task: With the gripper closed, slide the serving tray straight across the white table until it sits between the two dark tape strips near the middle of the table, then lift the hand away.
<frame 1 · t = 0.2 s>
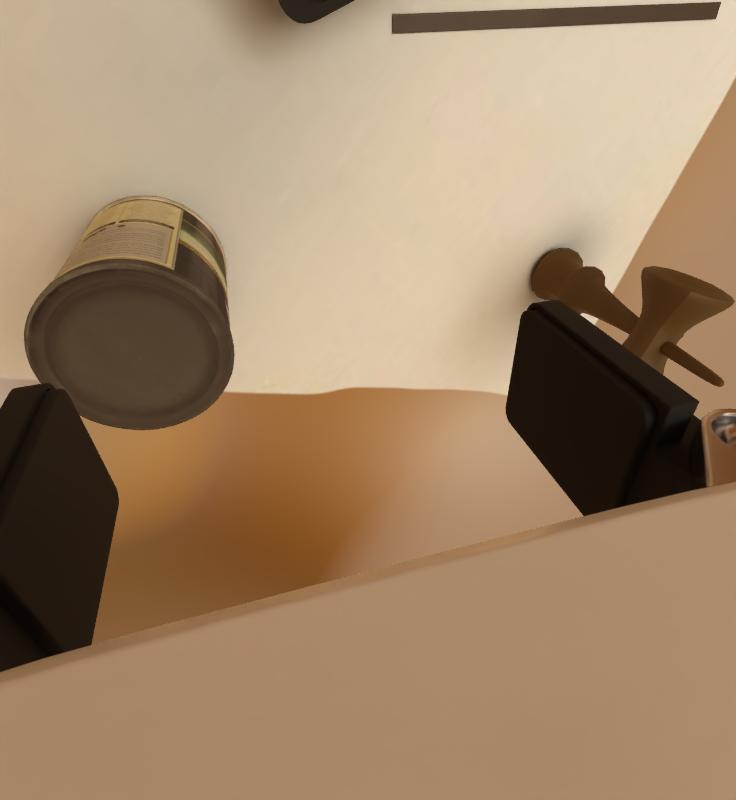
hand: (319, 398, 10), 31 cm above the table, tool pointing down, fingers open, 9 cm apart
kendama: (551, 271, 47), on the table
coffee can: (157, 263, 37), on the table
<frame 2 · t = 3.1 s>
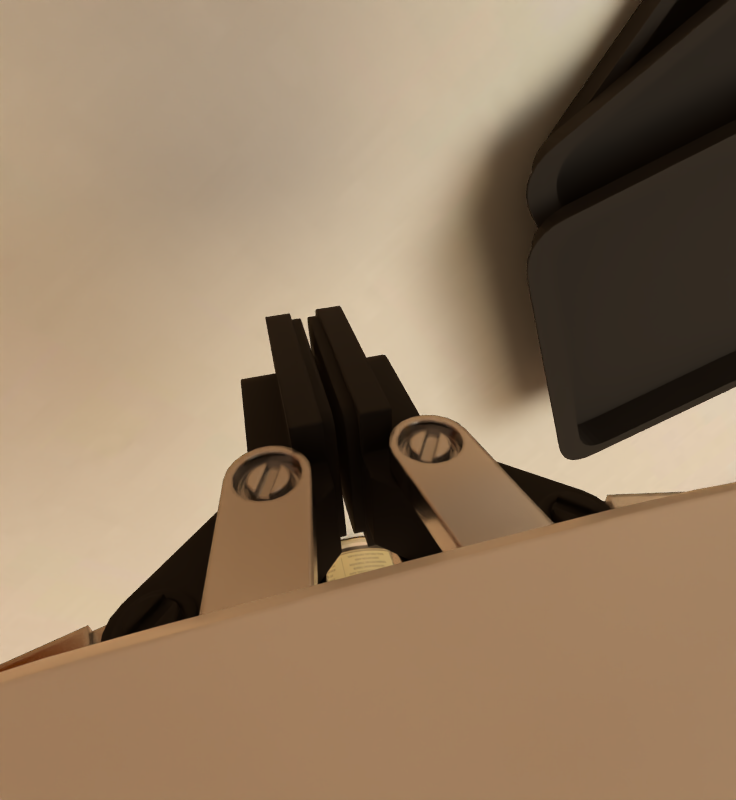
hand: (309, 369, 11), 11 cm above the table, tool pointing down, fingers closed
tray: (720, 159, 23), on the table, touching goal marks
coffee can: (347, 577, 36), on the table
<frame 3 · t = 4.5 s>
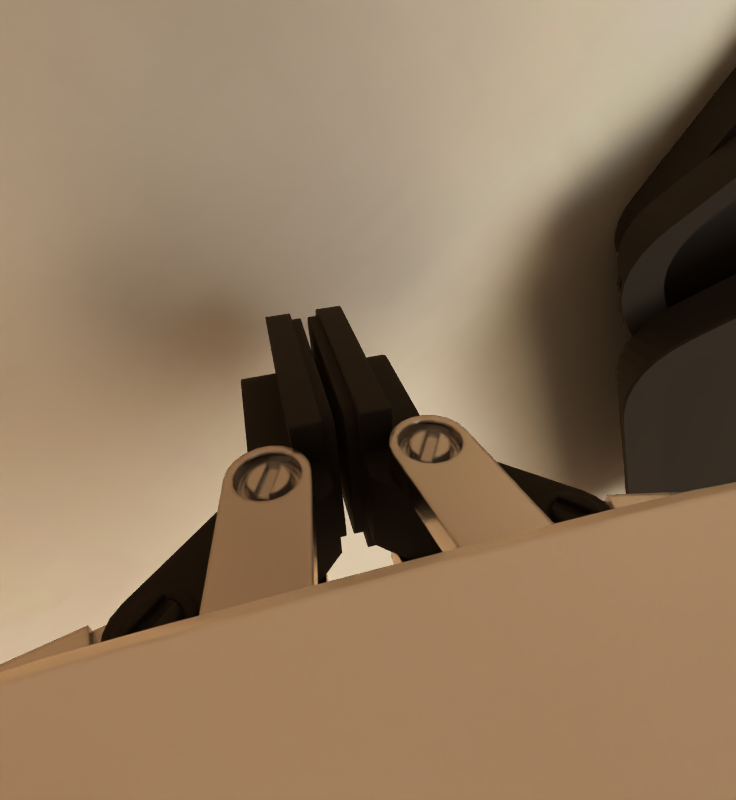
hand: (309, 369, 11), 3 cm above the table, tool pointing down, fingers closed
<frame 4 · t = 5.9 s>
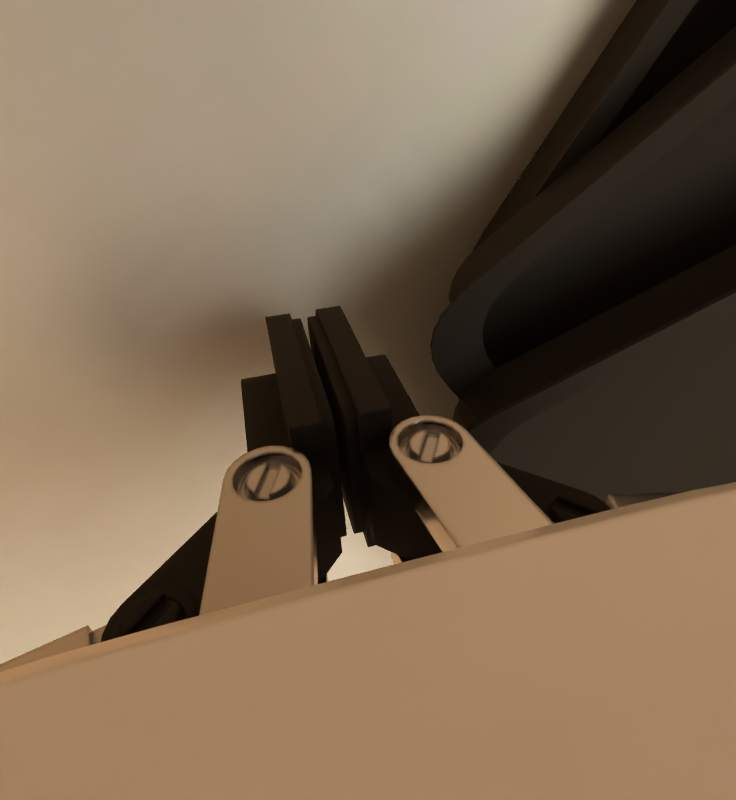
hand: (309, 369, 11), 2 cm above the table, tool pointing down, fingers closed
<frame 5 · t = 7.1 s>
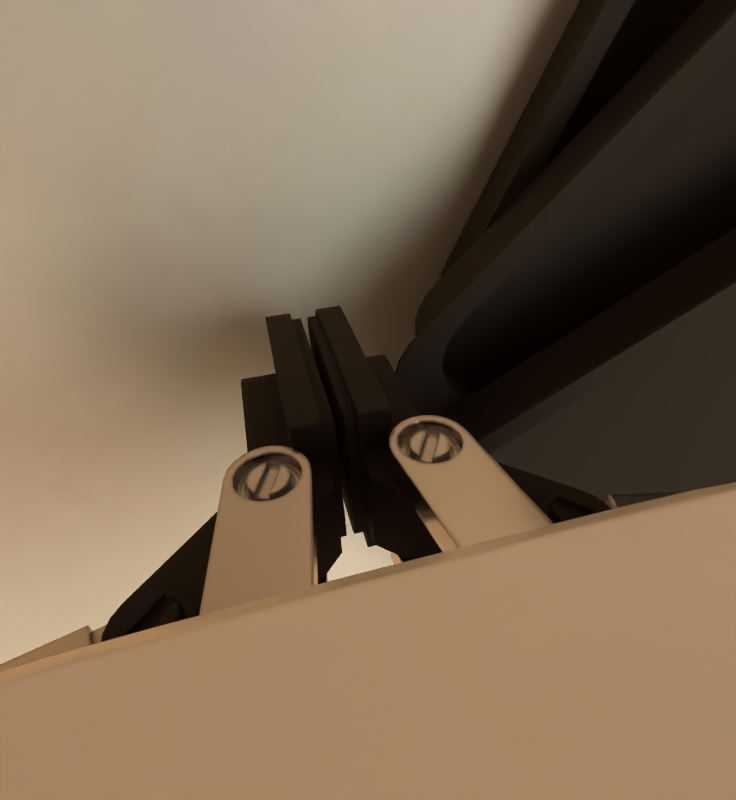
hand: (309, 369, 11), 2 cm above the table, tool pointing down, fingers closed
tray: (733, 231, 15), on the table, touching gripper
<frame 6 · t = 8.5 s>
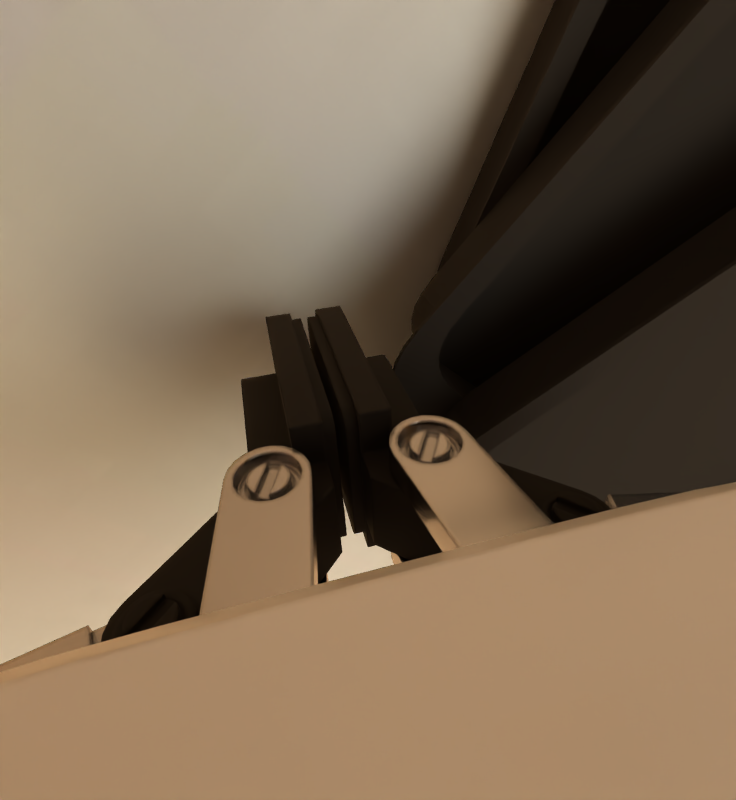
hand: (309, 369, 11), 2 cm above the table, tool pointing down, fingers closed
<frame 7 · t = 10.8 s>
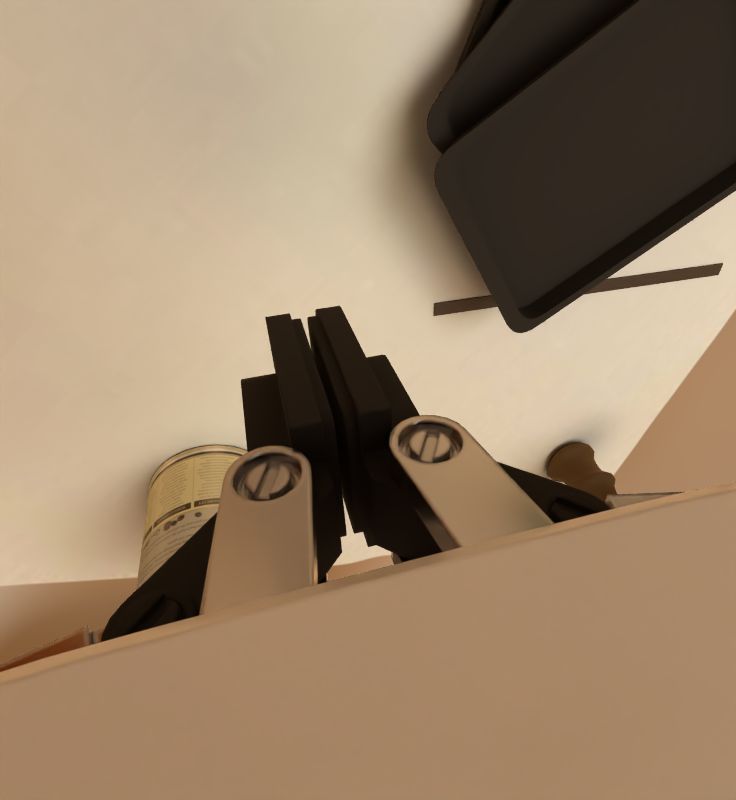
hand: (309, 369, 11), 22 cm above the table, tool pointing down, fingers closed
tray: (594, 77, 30), on the table, touching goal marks
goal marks: (636, 98, 31), on the table
kendama: (565, 456, 51), on the table
coffee can: (213, 488, 41), on the table
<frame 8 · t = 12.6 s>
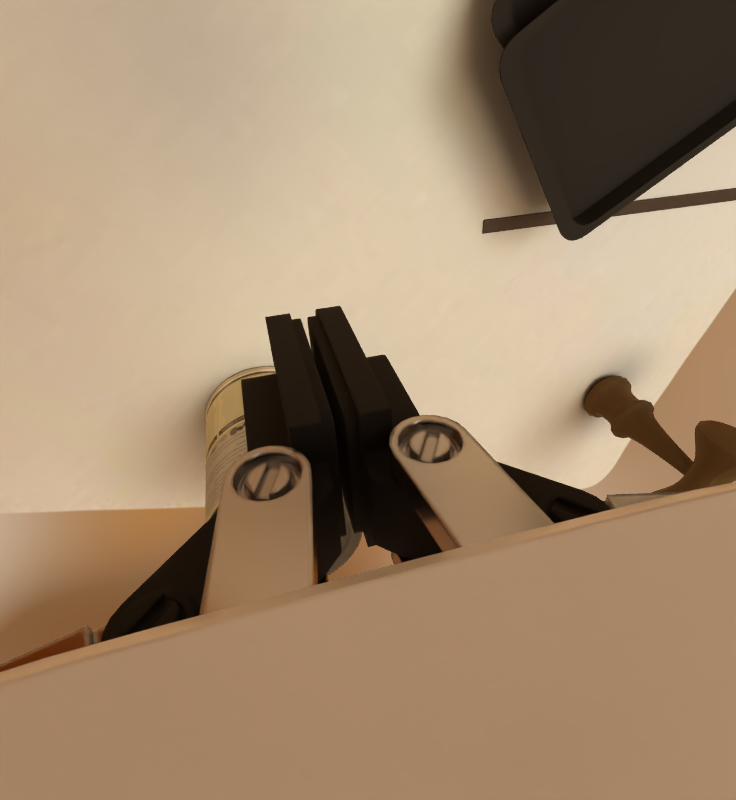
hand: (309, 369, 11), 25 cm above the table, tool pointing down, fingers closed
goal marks: (684, 3, 32), on the table
kendama: (601, 392, 52), on the table
coffee can: (266, 413, 43), on the table
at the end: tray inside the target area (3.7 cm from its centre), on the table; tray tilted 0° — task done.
